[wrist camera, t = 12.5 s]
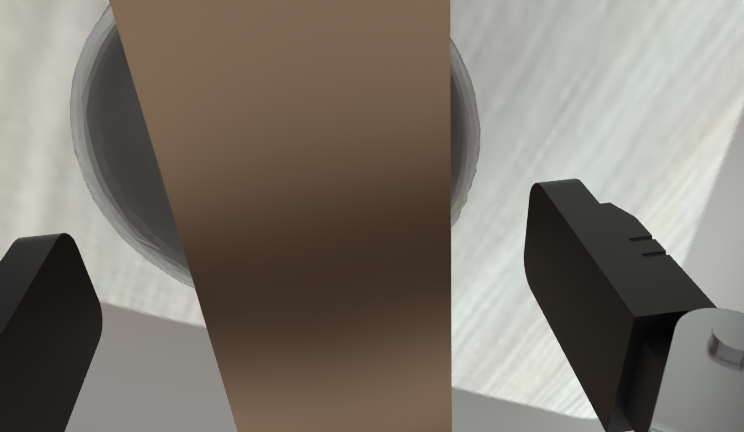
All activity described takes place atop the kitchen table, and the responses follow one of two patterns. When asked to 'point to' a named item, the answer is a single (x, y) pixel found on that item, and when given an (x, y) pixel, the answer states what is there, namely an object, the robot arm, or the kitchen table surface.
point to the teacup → (139, 164)
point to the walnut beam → (309, 199)
